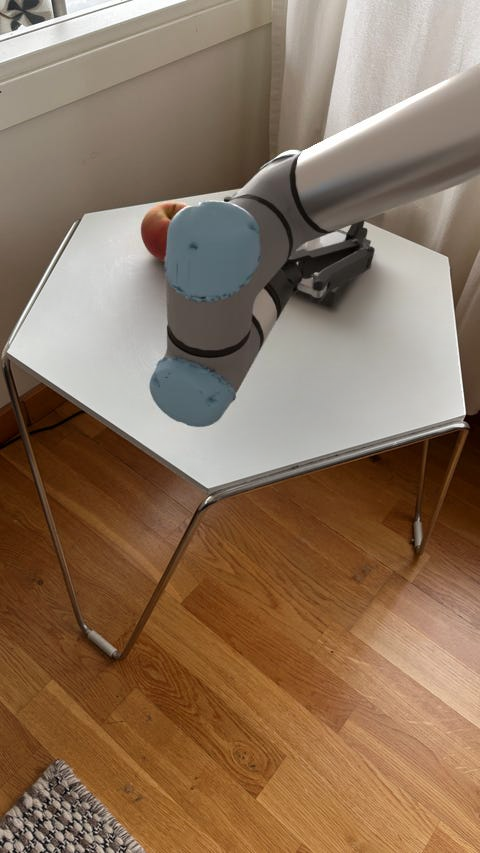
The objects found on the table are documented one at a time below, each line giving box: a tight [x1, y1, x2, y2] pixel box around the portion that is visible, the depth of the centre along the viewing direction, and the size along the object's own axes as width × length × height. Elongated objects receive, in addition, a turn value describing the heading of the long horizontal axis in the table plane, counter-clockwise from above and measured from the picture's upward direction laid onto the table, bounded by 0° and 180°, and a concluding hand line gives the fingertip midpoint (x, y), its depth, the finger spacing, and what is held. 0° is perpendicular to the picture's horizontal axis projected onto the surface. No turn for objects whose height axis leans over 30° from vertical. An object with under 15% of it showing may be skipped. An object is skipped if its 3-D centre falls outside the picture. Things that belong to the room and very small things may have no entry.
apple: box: [140, 201, 190, 262], centre depth 93 cm, size 8×8×8 cm
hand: (309, 200), depth 86 cm, fingers open, 13 cm apart
